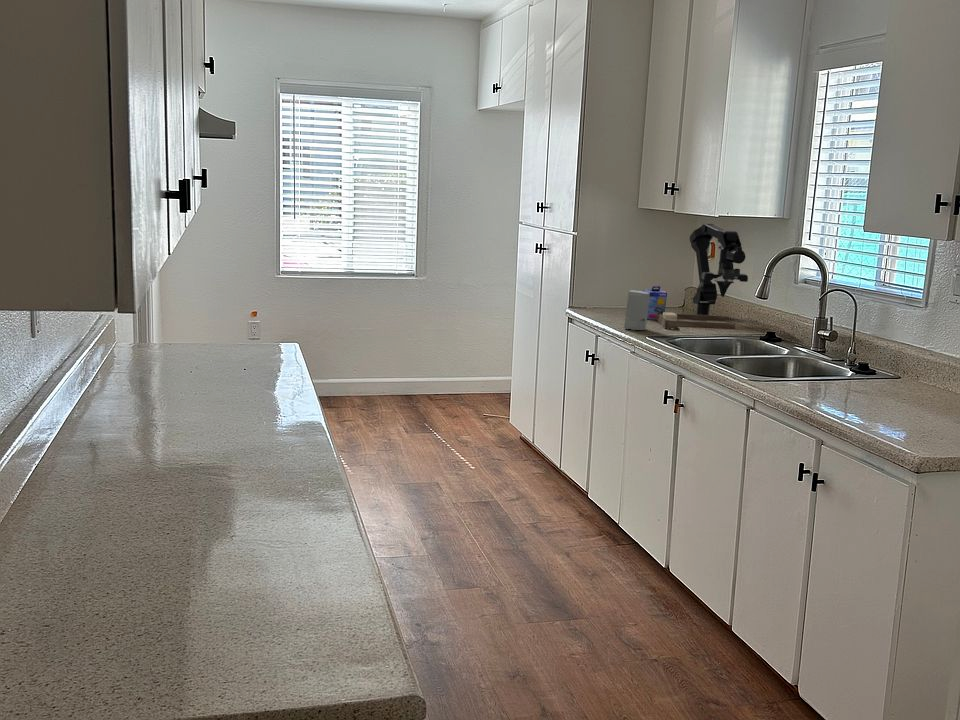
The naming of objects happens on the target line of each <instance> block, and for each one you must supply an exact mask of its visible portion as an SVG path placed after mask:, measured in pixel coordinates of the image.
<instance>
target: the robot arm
mask: <svg viewBox="0 0 960 720" xmlns="http://www.w3.org/2000/svg"><path fill="white" fill-rule="evenodd" d="M713 238H716V239H717V242H718V243H720V245H719V246H718V249H719V250H720V253H719V261H718V270H717V273H715V274H714V273H713V272H711V271H710V265H709V264H710V263H709V256H708V254H709V253H708V249H709V247H710V245H711V242H710V241H711V240H712V239H713ZM689 243H690V245H691V248H692V250H693V251H694V252H695V256H696V263H697V271H698V279H699V283H698V286H697V288H696V293H695V295H694V296H693V297H692V303H693V304H696V312H695V315H710V312H711V310H710V309H711V305H714V306H715V304H716V301H717V298H718V289H717V285H718V288H719V293H720V296H721V297H722V298H724V297H725V296H726V294H727V290H728V289H729V287H730V285H732V284H734V283H735V280H736V281H737V280H738V281H739V282H740V283H741V282H743V283H746V282H748V281H749V276H748V274H746V273H741V269H740V268H734V263H735V264H738V265H739V264H742V263H743V262H744V261H746V256H747V255H746V253H745V252H744V250H743V247H742V243H741V239H740V236H739V234H738V232H737V231H736V230H725V229H724V228H721V227H719V226H716V225H715V224H713V223H703V224H702V225H701V226H700V227H698V228H697V229H695V230H693V232H692V233H691V235H690V236H689ZM712 280H714V283H713V282H712ZM715 282H716V283H715ZM716 284H717V285H716Z"/></svg>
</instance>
